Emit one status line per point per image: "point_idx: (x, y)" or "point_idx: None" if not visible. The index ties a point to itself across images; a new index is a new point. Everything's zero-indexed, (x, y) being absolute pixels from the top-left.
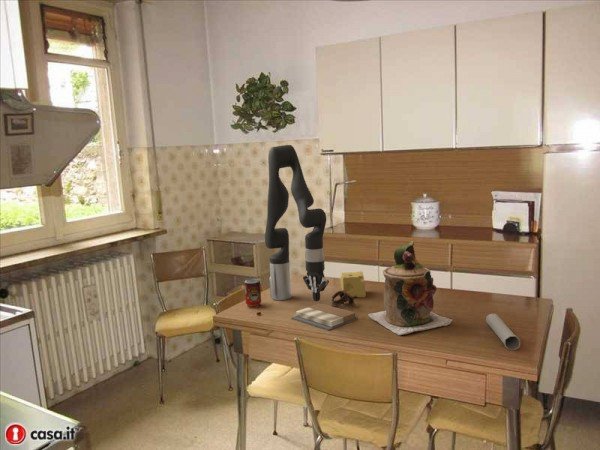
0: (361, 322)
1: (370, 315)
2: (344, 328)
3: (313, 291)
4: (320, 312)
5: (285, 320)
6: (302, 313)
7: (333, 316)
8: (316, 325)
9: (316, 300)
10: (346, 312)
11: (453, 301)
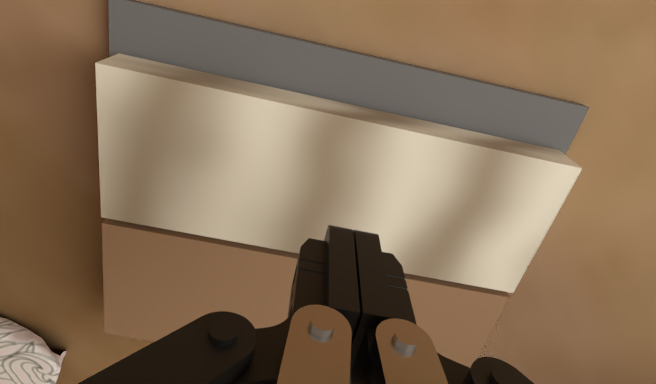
0: (44, 263)
1: (23, 348)
2: (50, 111)
3: (378, 326)
4: None
5: (629, 45)
6: (495, 148)
7: (186, 201)
8: (271, 33)
9: (326, 237)
10: (162, 314)
11: None
